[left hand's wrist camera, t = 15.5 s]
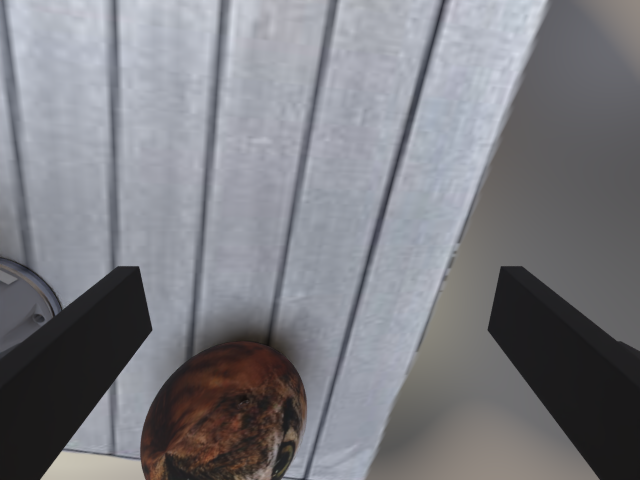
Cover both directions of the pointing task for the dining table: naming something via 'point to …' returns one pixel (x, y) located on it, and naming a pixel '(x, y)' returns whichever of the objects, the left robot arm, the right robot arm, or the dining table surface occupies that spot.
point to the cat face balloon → (226, 417)
